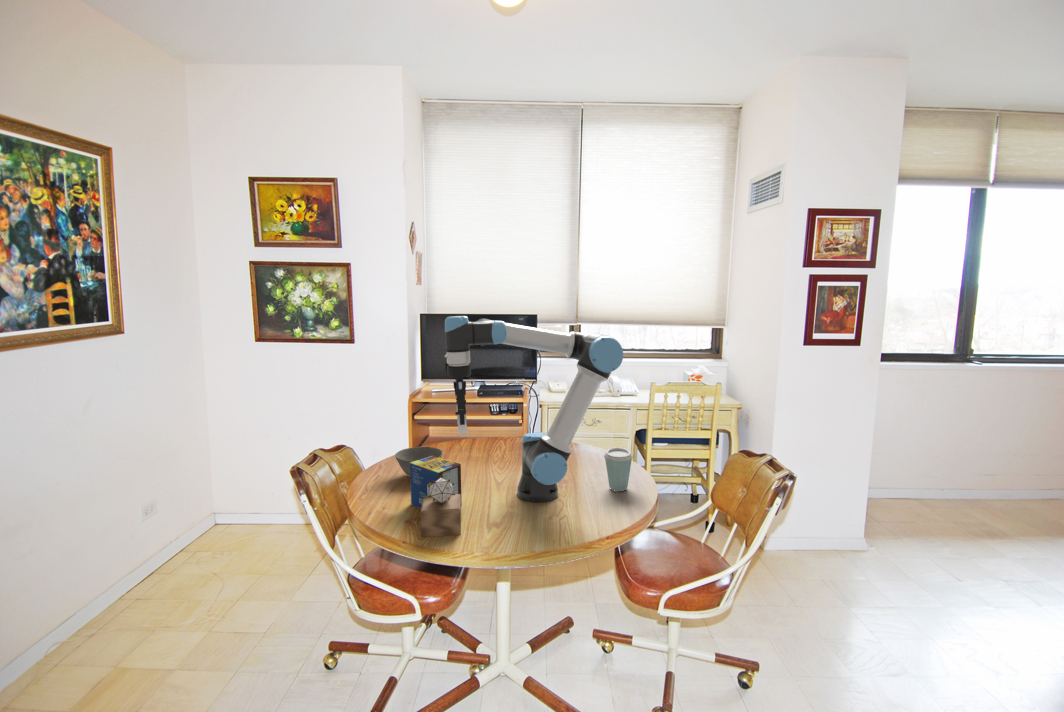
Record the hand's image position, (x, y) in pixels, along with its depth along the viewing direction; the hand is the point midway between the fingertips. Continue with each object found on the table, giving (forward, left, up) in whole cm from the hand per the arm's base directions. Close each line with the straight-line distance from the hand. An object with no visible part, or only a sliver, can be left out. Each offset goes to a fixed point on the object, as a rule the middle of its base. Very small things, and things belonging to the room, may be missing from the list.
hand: (462, 428), depth 162 cm
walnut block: (+7, +7, -30) cm, 32 cm away
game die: (+7, +7, -22) cm, 24 cm away
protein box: (+10, -10, -30) cm, 33 cm away
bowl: (+18, -38, -30) cm, 52 cm away
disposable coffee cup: (-58, -16, -30) cm, 68 cm away
